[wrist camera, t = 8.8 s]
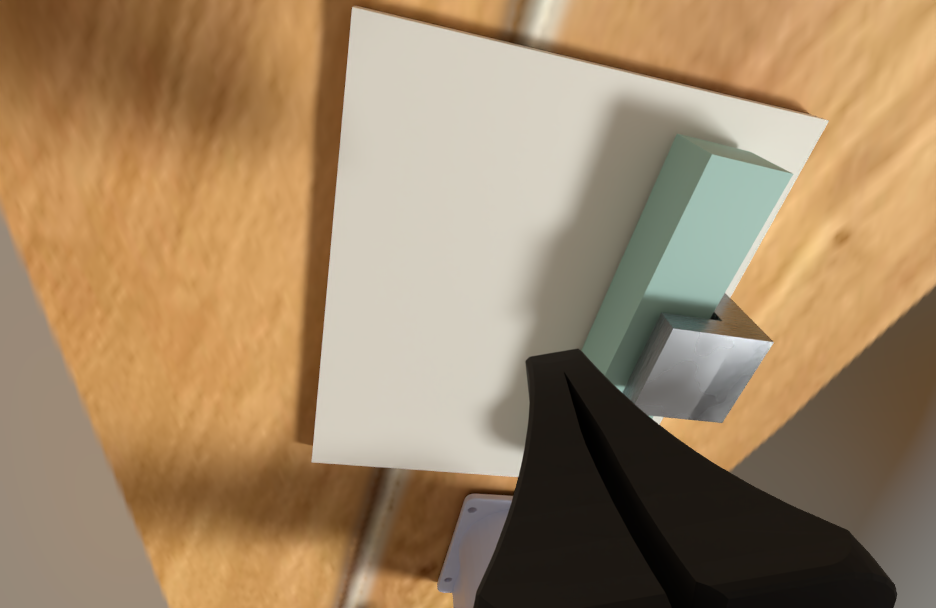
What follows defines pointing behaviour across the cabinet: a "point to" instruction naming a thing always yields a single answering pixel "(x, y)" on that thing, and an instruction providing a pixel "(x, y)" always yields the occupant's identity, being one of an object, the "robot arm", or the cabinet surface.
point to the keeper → (697, 364)
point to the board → (489, 229)
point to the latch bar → (683, 246)
